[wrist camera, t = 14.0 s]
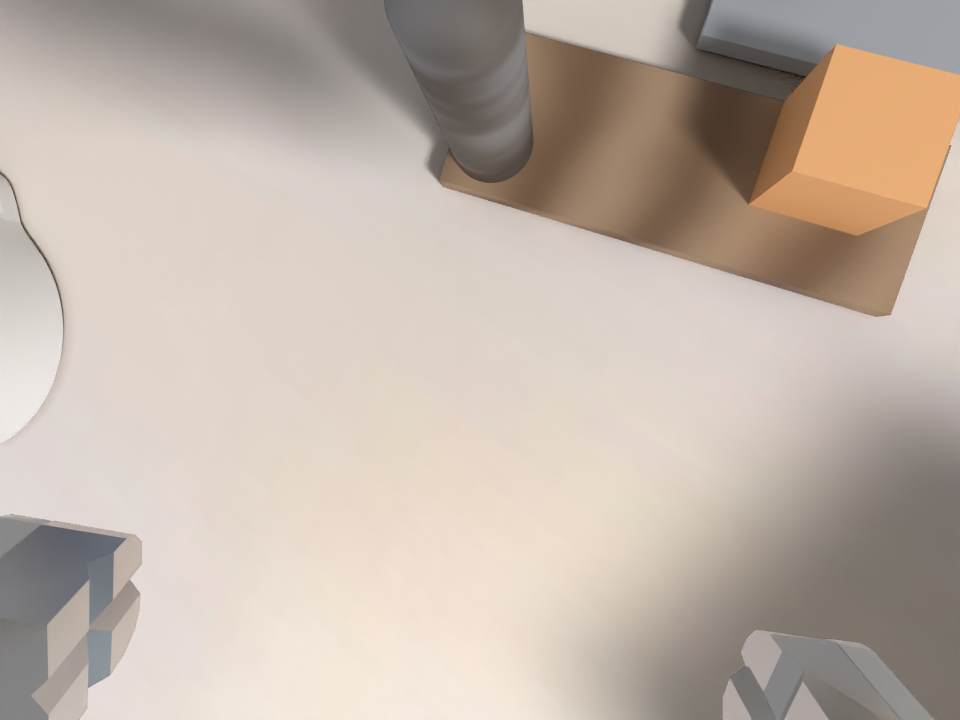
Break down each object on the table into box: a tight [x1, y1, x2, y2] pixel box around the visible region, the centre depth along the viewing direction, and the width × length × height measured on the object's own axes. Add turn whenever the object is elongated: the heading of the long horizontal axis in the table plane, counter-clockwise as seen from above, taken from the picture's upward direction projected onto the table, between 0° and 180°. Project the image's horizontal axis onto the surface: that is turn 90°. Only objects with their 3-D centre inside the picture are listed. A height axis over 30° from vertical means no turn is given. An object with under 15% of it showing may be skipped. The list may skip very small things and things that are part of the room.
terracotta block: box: [749, 44, 960, 236], centre depth 24 cm, size 5×5×5 cm
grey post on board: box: [384, 0, 951, 317], centre depth 22 cm, size 22×8×13 cm, turn 72°
